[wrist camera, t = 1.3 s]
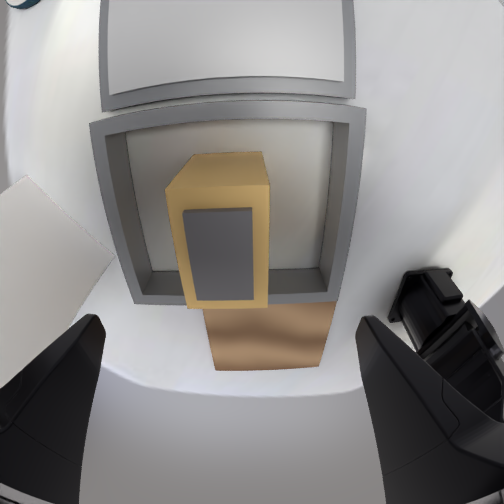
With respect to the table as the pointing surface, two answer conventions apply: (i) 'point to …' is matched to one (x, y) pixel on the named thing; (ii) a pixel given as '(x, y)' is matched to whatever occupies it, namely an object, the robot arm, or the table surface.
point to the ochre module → (222, 230)
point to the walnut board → (269, 336)
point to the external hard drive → (21, 3)
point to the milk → (40, 273)
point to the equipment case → (227, 110)
